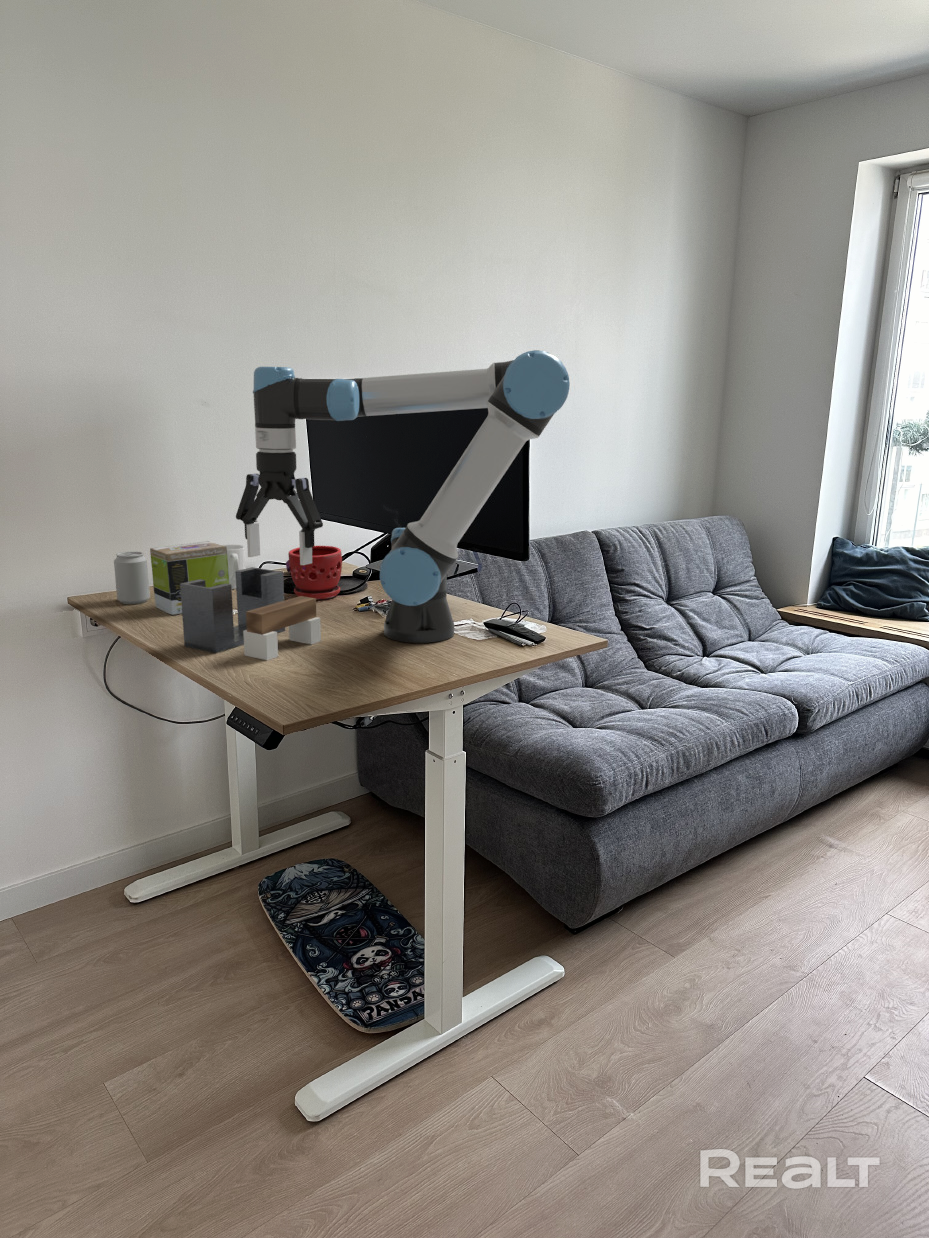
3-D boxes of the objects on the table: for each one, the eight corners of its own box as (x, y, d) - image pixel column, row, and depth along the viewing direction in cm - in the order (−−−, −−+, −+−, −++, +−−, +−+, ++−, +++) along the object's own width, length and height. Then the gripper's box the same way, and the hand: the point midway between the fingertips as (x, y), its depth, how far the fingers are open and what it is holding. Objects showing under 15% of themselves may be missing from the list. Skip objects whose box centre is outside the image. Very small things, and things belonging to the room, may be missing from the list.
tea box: (213, 598, 216) (209, 540, 213) (231, 606, 209) (228, 545, 205) (153, 607, 207) (149, 546, 203) (171, 616, 200) (166, 552, 196)
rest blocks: (320, 641, 182) (320, 617, 180) (267, 660, 168) (266, 635, 167) (298, 636, 184) (297, 613, 183) (244, 655, 171) (243, 630, 170)
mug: (212, 584, 232) (210, 545, 229) (242, 582, 235) (240, 543, 232) (222, 594, 221) (219, 553, 218) (253, 591, 225) (251, 551, 222)
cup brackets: (285, 630, 189) (283, 571, 186) (215, 653, 172) (212, 589, 169) (255, 624, 193) (252, 567, 190) (184, 646, 176) (180, 583, 173)
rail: (316, 617, 181) (315, 598, 180) (262, 634, 167) (261, 614, 166) (301, 614, 183) (301, 596, 182) (247, 631, 169) (246, 611, 168)
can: (131, 606, 207) (127, 557, 204) (110, 602, 211) (106, 553, 208) (156, 600, 214) (153, 552, 211) (136, 596, 217) (132, 549, 214)
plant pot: (293, 590, 226) (292, 545, 223) (344, 590, 227) (343, 545, 224) (286, 602, 214) (284, 554, 211) (340, 602, 215) (339, 554, 212)
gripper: (214, 448, 169) (219, 555, 175) (313, 455, 157) (316, 570, 163) (242, 446, 176) (246, 550, 181) (340, 453, 163) (341, 564, 169)
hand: (279, 560), depth 172 cm, fingers open, 13 cm apart
